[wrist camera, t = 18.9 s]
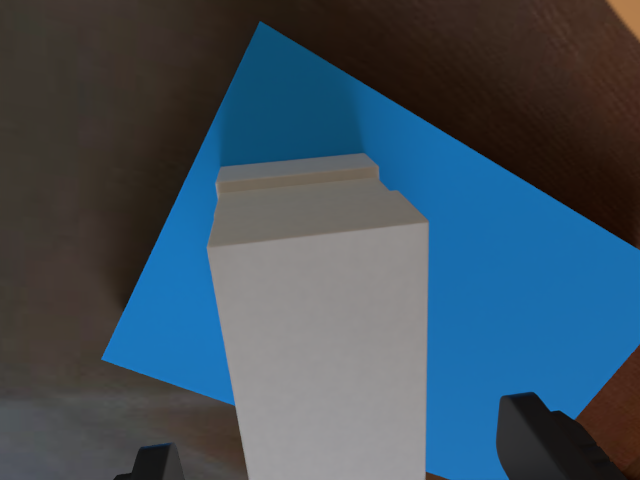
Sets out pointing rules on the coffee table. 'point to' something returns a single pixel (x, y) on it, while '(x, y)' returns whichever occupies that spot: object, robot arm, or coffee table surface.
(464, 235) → the book
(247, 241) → the light grey block
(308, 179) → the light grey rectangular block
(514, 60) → the coffee table surface
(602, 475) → the robot arm
